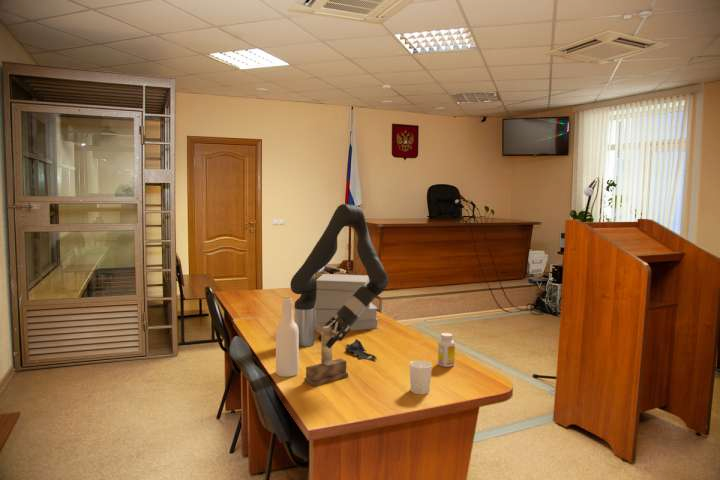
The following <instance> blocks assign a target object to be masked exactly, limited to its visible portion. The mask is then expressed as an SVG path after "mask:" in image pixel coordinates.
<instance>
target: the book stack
mask: <svg viewBox="0 0 720 480" xmlns="http://www.w3.org/2000/svg"><path fill="white" fill-rule="evenodd" d="M316 281H317V293H316V302H315V305H314V331H316V332H317V334H318V335H321V328H322V327H323V326H324V325H325V324H326V323H327V322H328V321H329V320H330V319H331V318H332V317H334V318H337V317H338V315H337V312H338V311H339V310H340V309H341V307H342V306H343V305H344V304H345V303H346V302H347V301H348V300H349V299H350V298H351V297H352V296H353V295H354V294H355V292H356V291H357V290H358V289H359V288H360V287H362V286H364V287H365V286H366V285H367V284H368V283H369V282H370V280H369V277H368V274H365V275H363V274H339V273H338V274H337V273H335V274H334V273H333V274H332V273H323V274H321V276H319V277H318V278H317V279H316ZM378 309H379V308H378V307H377V306H376V305H374V303H372V302H371V303H370V304H369V305H368V306H367V307H366V309H365V310H364V312H363V313H362V314H361V315H360V317H359V318H358V319H357V320H356V321H355V322H354V324H353V325H352V326H349V325H348V327H349V328H350V331H351V332H352V331H362V330H363V331H364V330H373V329H379V327H378V321H379V320H380V319H379V318H377V313H378V312H377V310H378ZM350 331H349V332H350ZM332 334H334V332H332Z"/></svg>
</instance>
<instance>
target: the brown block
mask: <svg viewBox="0 0 720 480" xmlns="http://www.w3.org/2000/svg"><path fill="white" fill-rule="evenodd" d="M348 377H349V373H348V372H347V360H346V359H343V358H339V359H334V360H333V359H332V365H329V366H324V365H322V364H321V363H317V364H313V365H310V366H306V367H305V377H304V378H303V382H304V383H306V384H308V385H309V386H311V387H313V388H314V387H317V386H320V384H321V385H325V384H329V383H331V382H335V381H339V380H343V379H346V378H348ZM324 383H325V384H324Z"/></svg>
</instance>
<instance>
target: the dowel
mask: <svg viewBox="0 0 720 480" xmlns="http://www.w3.org/2000/svg"><path fill="white" fill-rule="evenodd" d="M320 335H321V341H320V343H321V344H320V345H321V351H320V352H321V362H320V364H322V365H324V366H329V365H332V361H333V346H332V347H331V348H328V347H327V346H326V343H327V342H328V341H329V340H330V339H331V337H332V338H333V333H332V327H329V326H325V327H322V328H321V334H320Z"/></svg>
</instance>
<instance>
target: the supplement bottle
mask: <svg viewBox="0 0 720 480" xmlns="http://www.w3.org/2000/svg"><path fill="white" fill-rule="evenodd" d="M453 336H454V335H453V334H452V333H450V332H443V333H441V334H440V338H441V339H439V341H438V352H437V355H438V356H437V357H438V358H437V364H438V365H439V366H441V367H445V368H450V367H453V366H455V348H456V343H455V341H454V340H453Z"/></svg>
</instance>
